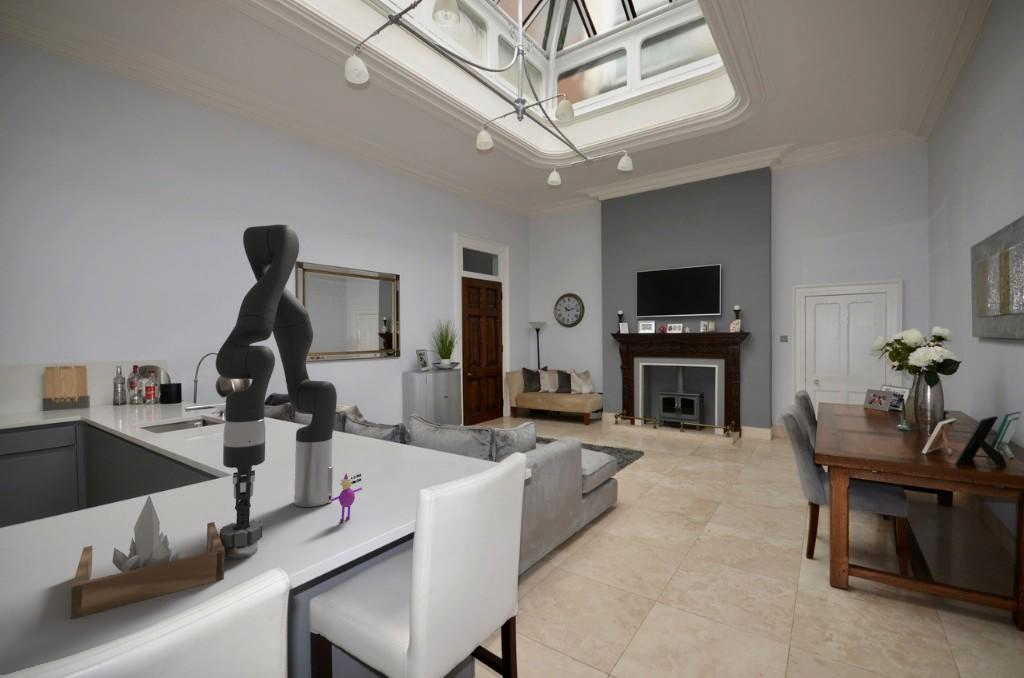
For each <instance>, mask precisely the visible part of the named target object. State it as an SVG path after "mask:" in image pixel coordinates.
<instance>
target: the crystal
mask: <svg viewBox="0 0 1024 678" xmlns="http://www.w3.org/2000/svg"><path fill="white" fill-rule="evenodd" d="M160 523H161V522H160V519H159V517H158V514H157V512H156V509H155V506H154V503H153V501H152V498H151V495H148V497H147V499H146V501H145V503H144V505H143V508H142V510H141V512H140V514H139V516H138V517H137V520H136V523H135V524H134V527H133V531H134V537H131V541H130V545H129V550H128V551H129V554H128V555H126V554H125V553H124V552H122V551H121V550H119V549H118V548H116V547H113V553H112V554H113V555H112V563H113V564H114V566H115V567H116V569H118V570H119V571H120V573H122V572H126V571H131V570H135V569H140V568H144V567H148V566H153V565H157V564H161V563H166V562H170V561H174V560H179V559H180V557H179V554H178V553H177V552H176V554H174V555H173V556H172V549H171V548H170V547H169V545H170V544H169V543H170V542H169V538H168V534H164V532H163V531H161V532H160V529H161V528H160Z"/></svg>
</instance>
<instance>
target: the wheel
mask: <svg viewBox="0 0 1024 678" xmlns="http://www.w3.org/2000/svg"><path fill="white" fill-rule="evenodd" d="M263 523H264V522H262V521H261V520H257V519H256V520H255V519H251V520H249V526H248V527H247V528H246V529H244V530H237V528H236V522H235V523H234V522H230V523H229V524H226V525H224V526H222V527H221V528H220V530H219V537H220V540H221V543H222V546H223V547H224V546H225V547H231V546H234V547H239V546H245V545H247V543H251V544H252V543H254V542H256V541H260V540H261V539H262V538H263V529H264V525H263Z"/></svg>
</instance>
